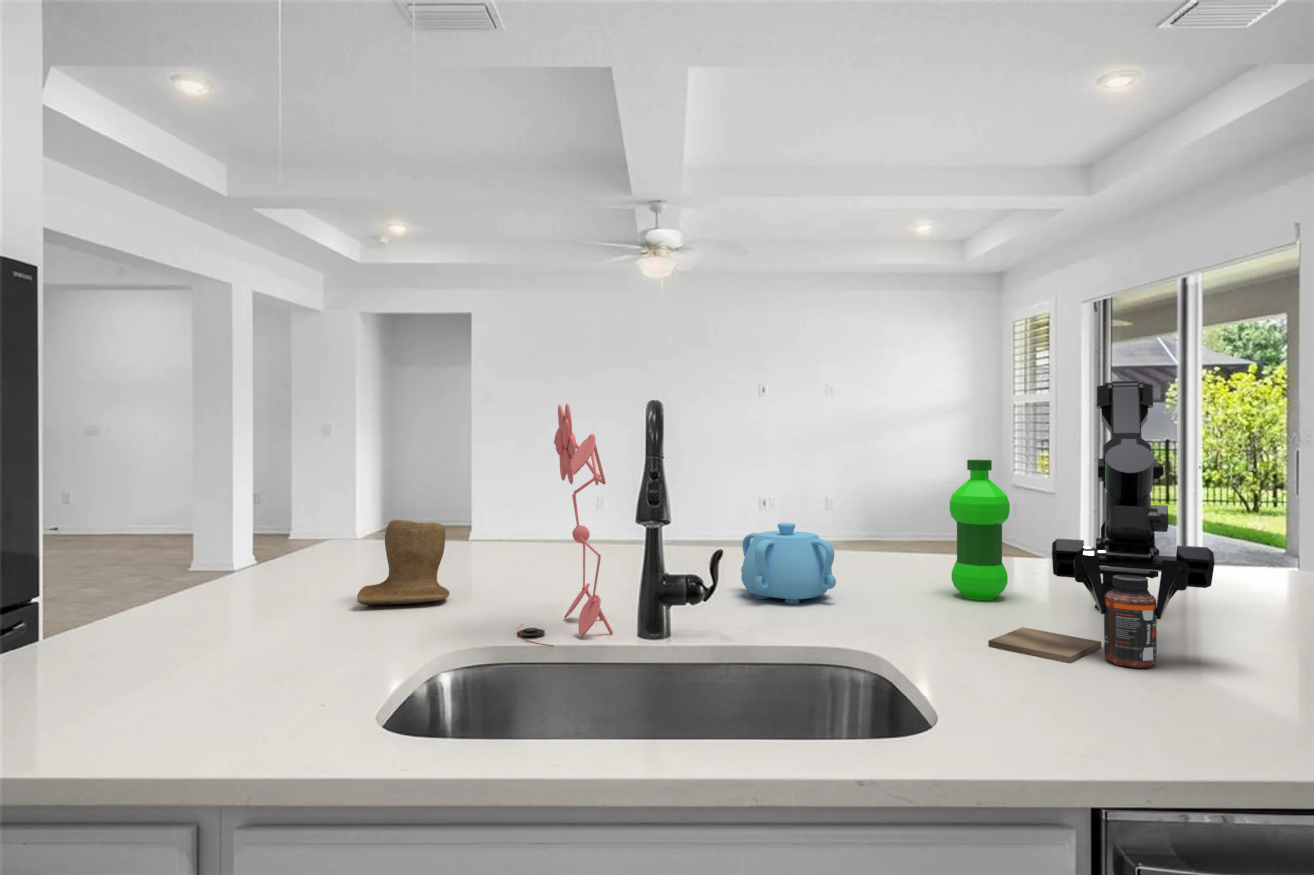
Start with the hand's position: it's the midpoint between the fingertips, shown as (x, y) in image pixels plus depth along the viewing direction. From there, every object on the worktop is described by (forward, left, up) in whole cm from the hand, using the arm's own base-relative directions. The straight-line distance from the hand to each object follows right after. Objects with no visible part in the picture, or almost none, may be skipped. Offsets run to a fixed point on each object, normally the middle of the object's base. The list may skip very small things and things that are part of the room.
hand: (1130, 614), depth 104 cm
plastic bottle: (-13, -40, -7) cm, 43 cm away
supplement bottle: (-1, -1, -7) cm, 7 cm away
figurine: (+63, -47, -7) cm, 79 cm away
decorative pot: (+19, -54, -7) cm, 58 cm away
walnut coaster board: (+3, -11, -7) cm, 13 cm away
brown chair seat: (+84, -77, -7) cm, 114 cm away
